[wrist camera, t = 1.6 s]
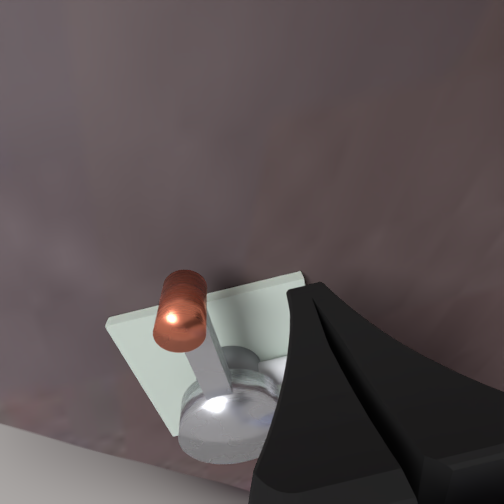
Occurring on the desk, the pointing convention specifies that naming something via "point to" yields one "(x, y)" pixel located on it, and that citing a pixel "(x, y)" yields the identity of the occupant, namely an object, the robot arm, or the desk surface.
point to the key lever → (212, 379)
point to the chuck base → (229, 335)
